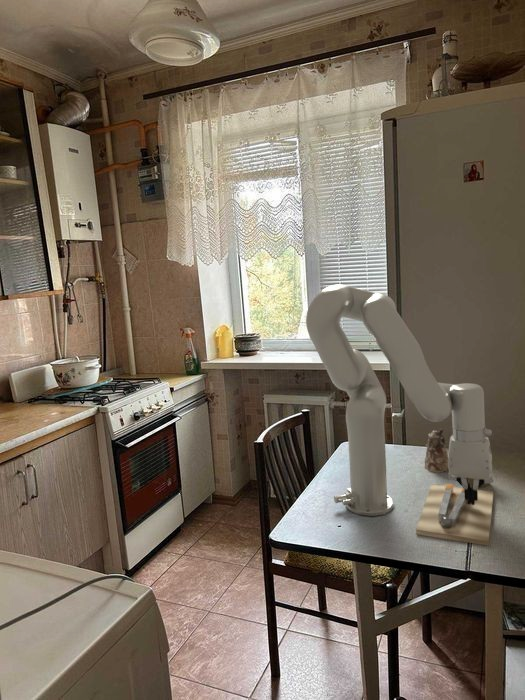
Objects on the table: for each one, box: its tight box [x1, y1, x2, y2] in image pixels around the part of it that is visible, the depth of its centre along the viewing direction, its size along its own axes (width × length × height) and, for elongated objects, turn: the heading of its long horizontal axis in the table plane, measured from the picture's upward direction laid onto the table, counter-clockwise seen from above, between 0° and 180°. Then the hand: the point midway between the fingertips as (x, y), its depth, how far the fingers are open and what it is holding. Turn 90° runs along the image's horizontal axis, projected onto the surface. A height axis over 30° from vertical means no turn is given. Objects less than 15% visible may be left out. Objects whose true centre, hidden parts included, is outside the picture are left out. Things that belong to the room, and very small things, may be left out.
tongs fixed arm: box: [438, 483, 454, 522], centre depth 135 cm, size 18×2×2 cm, turn 154°
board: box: [415, 483, 494, 547], centre depth 134 cm, size 26×16×1 cm, turn 154°
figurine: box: [424, 428, 449, 473], centre depth 162 cm, size 7×7×12 cm
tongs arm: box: [441, 489, 467, 528], centre depth 133 cm, size 20×3×2 cm, turn 148°
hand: (471, 502), depth 134 cm, fingers closed
